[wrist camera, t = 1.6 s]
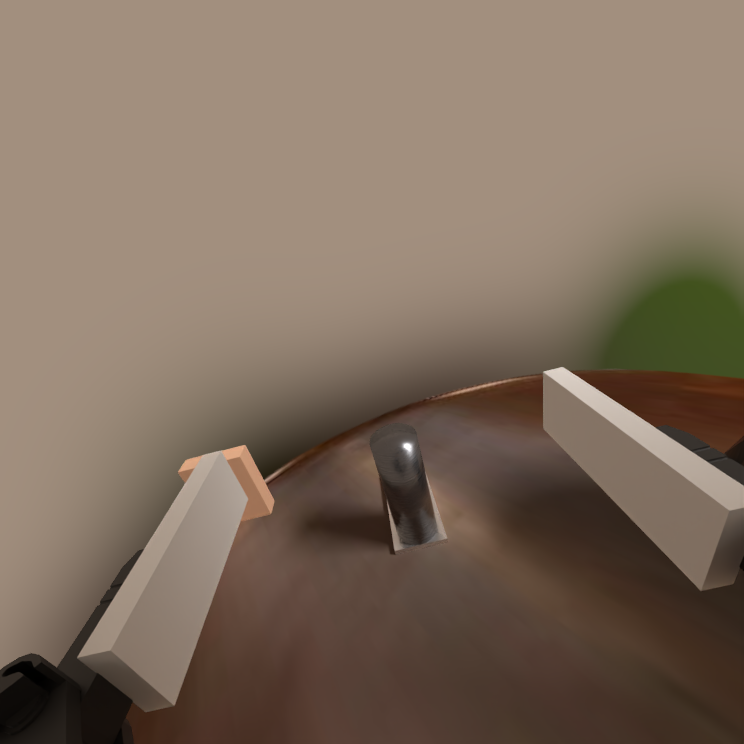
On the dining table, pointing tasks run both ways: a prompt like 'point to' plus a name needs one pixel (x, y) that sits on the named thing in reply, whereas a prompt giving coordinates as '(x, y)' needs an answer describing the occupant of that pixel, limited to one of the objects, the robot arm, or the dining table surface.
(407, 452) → the metal post on base
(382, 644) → the dining table surface
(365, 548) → the dining table surface
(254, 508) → the tile
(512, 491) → the dining table surface
